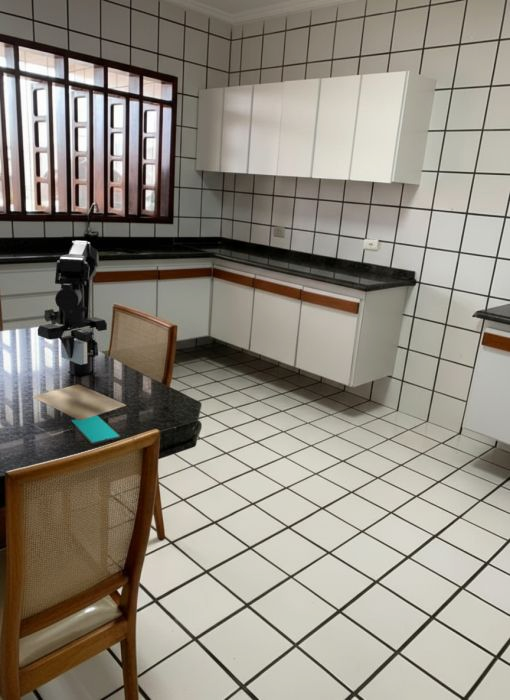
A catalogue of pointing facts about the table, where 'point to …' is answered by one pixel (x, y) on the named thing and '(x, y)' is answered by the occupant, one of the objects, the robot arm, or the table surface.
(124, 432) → the table surface
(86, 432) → the smartphone
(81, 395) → the mat
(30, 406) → the table surface
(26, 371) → the table surface
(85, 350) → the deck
